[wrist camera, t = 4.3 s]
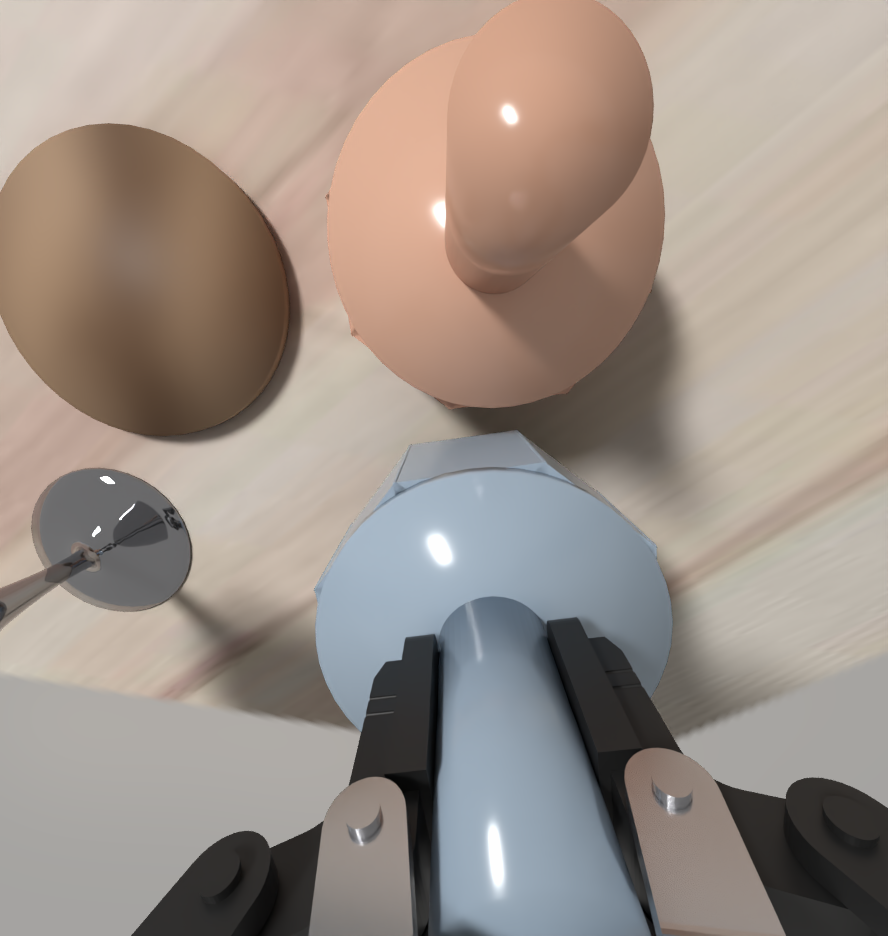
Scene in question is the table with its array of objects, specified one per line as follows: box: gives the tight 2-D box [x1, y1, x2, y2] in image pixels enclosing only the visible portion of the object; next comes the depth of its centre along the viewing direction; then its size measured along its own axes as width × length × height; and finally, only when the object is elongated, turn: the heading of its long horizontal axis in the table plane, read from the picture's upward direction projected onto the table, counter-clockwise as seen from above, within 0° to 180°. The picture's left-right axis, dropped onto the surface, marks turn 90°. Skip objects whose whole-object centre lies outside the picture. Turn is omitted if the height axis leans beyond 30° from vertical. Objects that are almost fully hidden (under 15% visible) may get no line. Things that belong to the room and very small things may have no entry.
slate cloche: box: [314, 429, 673, 936], centre depth 10 cm, size 9×9×11 cm
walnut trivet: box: [0, 123, 290, 436], centre depth 16 cm, size 11×11×1 cm
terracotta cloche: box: [325, 0, 665, 410], centre depth 11 cm, size 9×9×11 cm
